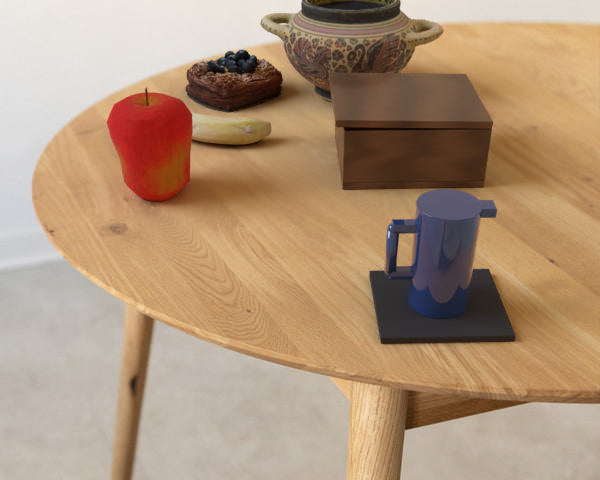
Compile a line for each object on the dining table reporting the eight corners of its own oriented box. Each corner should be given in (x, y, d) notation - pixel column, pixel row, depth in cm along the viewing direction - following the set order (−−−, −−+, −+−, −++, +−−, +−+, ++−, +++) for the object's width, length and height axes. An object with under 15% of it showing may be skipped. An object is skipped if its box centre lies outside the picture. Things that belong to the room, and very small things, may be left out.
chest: (342, 189, 86) (344, 131, 82) (334, 135, 98) (335, 82, 94) (483, 187, 86) (492, 129, 82) (458, 133, 98) (465, 80, 94)
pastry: (176, 95, 109) (172, 53, 106) (241, 74, 116) (239, 34, 113) (227, 116, 103) (224, 72, 99) (292, 93, 110) (292, 51, 106)
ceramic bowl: (439, 101, 114) (451, -9, 109) (429, 117, 98) (442, -12, 92) (277, 88, 119) (281, -18, 114) (242, 101, 103) (245, -22, 97)
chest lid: (335, 127, 82) (336, 120, 81) (328, 78, 94) (328, 72, 93) (492, 128, 82) (493, 121, 82) (465, 80, 94) (466, 73, 94)
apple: (211, 181, 88) (203, 78, 81) (174, 215, 81) (162, 107, 74) (145, 168, 90) (131, 68, 83) (104, 201, 84) (86, 94, 77)
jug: (473, 283, 70) (488, 188, 64) (486, 318, 65) (503, 219, 60) (379, 285, 70) (385, 189, 64) (385, 320, 65) (392, 221, 60)
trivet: (488, 273, 72) (488, 268, 72) (514, 341, 64) (516, 335, 64) (369, 275, 72) (369, 270, 72) (380, 343, 64) (381, 337, 63)
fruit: (239, 160, 92) (237, 134, 90) (144, 131, 99) (141, 106, 97) (274, 140, 97) (274, 114, 95) (182, 113, 104) (180, 89, 102)
